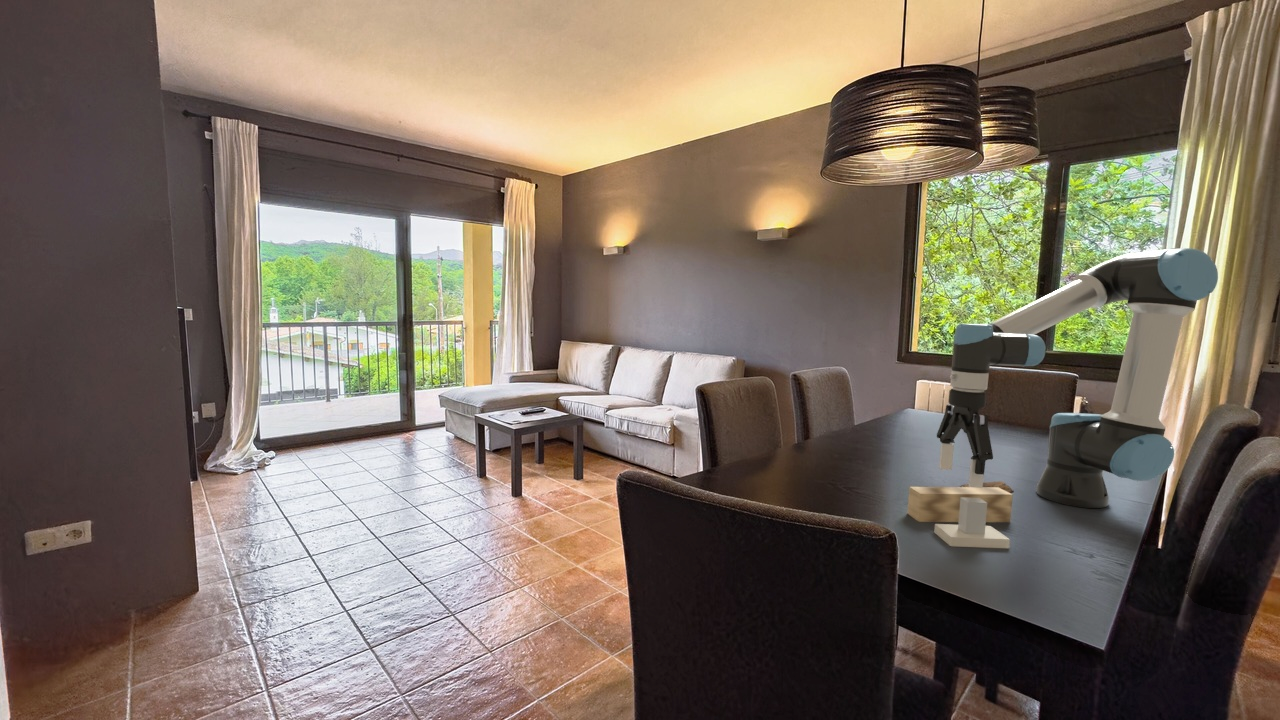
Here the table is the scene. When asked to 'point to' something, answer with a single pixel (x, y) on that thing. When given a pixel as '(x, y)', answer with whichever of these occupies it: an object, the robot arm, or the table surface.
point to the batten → (957, 503)
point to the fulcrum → (972, 527)
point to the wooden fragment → (995, 485)
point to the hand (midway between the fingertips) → (959, 477)
